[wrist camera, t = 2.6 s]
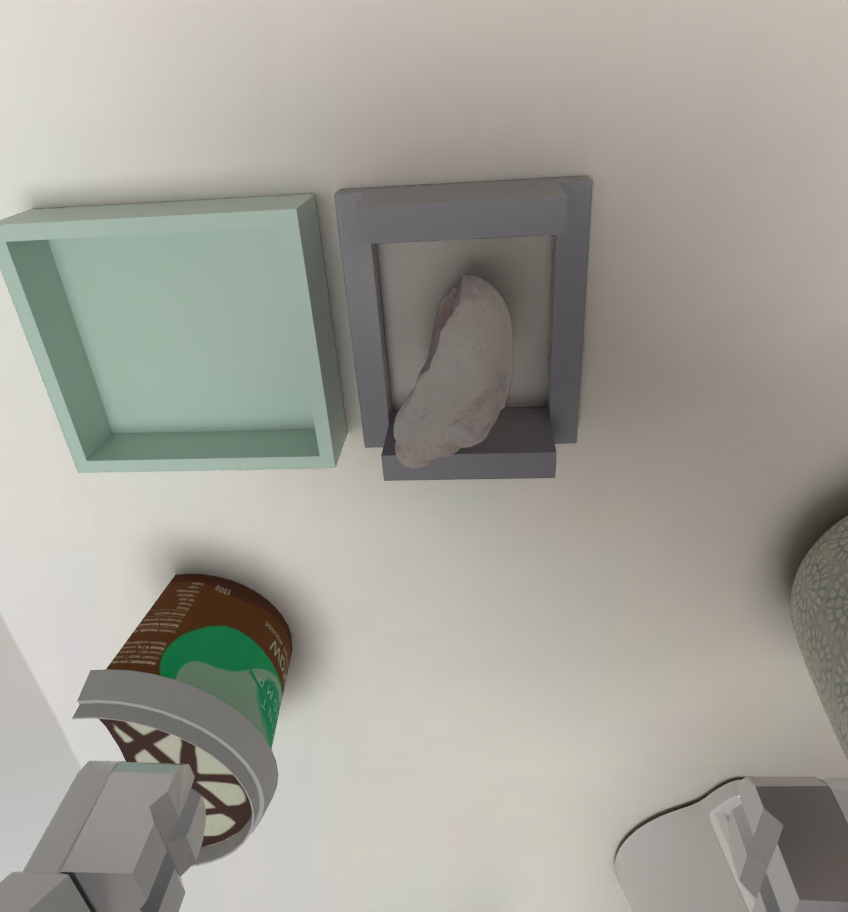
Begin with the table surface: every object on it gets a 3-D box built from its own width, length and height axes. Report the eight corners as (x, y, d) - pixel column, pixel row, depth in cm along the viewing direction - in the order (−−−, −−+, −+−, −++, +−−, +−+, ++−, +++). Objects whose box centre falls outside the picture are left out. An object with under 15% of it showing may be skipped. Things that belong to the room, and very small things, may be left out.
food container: (339, 696, 41) (302, 866, 32) (245, 706, 42) (186, 873, 33) (270, 537, 35) (203, 694, 26) (163, 554, 36) (65, 709, 27)
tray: (314, 193, 26) (296, 208, 23) (347, 433, 31) (335, 468, 29) (32, 208, 27) (-17, 225, 24) (110, 438, 32) (77, 472, 30)
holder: (587, 175, 25) (605, 194, 22) (572, 430, 30) (585, 477, 27) (339, 189, 26) (318, 209, 22) (368, 434, 31) (355, 481, 28)
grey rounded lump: (457, 237, 26) (448, 322, 18) (536, 274, 27) (563, 374, 18) (401, 361, 29) (370, 486, 21) (473, 392, 30) (472, 527, 21)
